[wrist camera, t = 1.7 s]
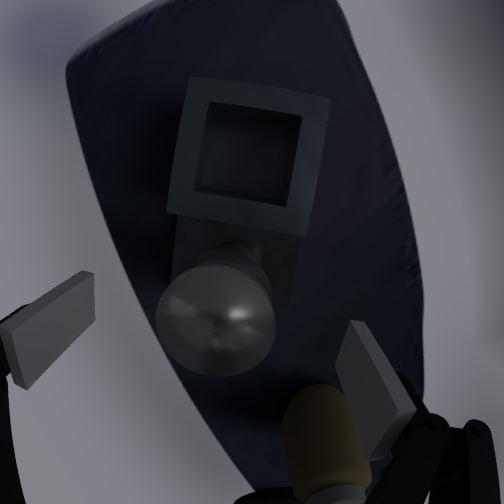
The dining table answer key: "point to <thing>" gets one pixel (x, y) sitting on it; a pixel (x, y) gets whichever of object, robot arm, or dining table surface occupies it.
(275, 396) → the dining table surface
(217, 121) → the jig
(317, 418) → the squeeze bottle
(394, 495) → the robot arm
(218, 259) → the dark grey round knob
